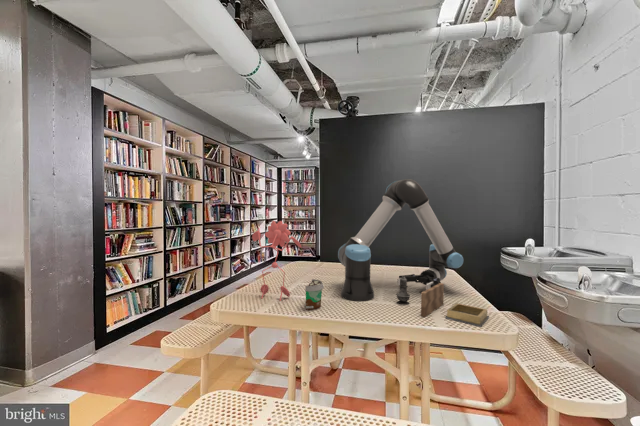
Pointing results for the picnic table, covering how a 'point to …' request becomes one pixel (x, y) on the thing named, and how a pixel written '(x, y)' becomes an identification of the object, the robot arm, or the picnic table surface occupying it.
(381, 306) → the picnic table surface
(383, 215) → the robot arm
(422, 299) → the board
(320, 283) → the food container
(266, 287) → the pink tall figurine
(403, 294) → the salt shaker
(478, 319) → the yellow square tray
